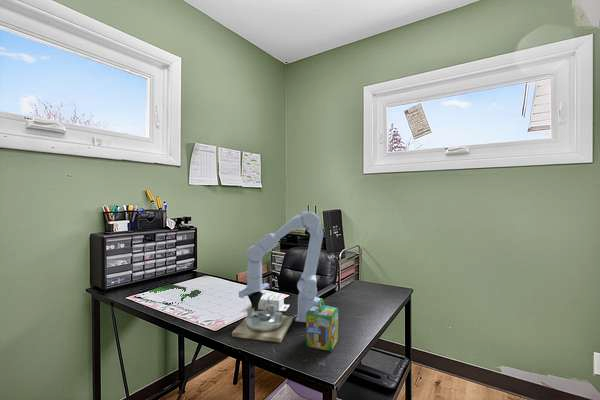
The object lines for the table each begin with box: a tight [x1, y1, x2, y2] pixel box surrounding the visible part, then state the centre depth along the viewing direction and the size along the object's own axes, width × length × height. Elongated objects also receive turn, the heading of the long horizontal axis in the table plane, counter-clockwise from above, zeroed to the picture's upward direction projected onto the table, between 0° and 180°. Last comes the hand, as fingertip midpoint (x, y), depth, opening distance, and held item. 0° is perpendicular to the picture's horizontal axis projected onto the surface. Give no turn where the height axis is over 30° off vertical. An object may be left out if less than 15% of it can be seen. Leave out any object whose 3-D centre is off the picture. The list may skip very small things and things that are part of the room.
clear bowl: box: [245, 304, 284, 332], centre depth 108 cm, size 14×14×5 cm
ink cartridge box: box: [258, 292, 290, 312], centre depth 128 cm, size 9×5×15 cm
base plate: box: [231, 315, 294, 343], centre depth 108 cm, size 18×18×2 cm
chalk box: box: [305, 297, 339, 353], centre depth 97 cm, size 9×9×15 cm
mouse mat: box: [143, 283, 201, 306], centre depth 143 cm, size 27×22×1 cm
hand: (254, 310), depth 112 cm, fingers closed, pressing on clear bowl
